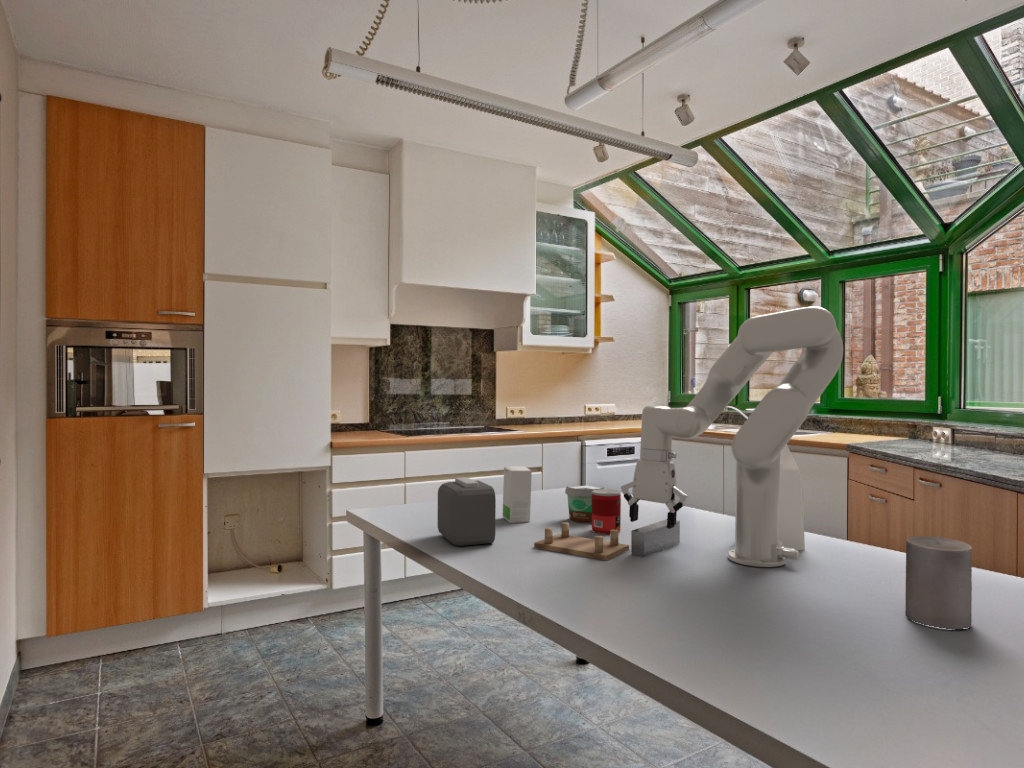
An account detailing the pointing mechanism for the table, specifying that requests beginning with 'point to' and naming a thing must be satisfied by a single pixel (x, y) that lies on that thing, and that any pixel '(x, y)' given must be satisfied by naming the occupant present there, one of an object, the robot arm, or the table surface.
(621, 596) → the table surface
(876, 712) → the table surface
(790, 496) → the milk
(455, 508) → the alarm clock
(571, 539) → the rack
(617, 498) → the canned food
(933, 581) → the pillar candle
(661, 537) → the steel bar
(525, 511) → the skincare box
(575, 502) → the food container
